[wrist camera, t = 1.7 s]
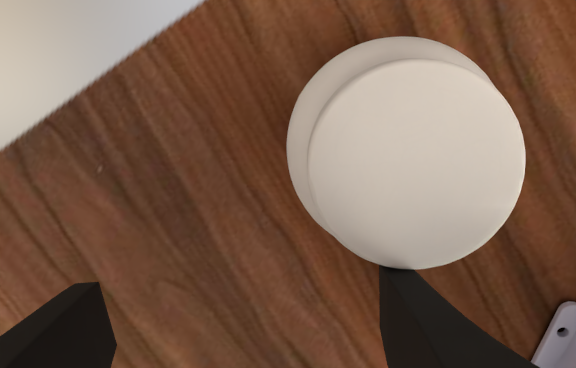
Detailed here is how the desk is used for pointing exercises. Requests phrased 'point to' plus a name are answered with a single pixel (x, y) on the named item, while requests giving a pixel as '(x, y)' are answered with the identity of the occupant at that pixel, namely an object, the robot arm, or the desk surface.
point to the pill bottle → (405, 152)
